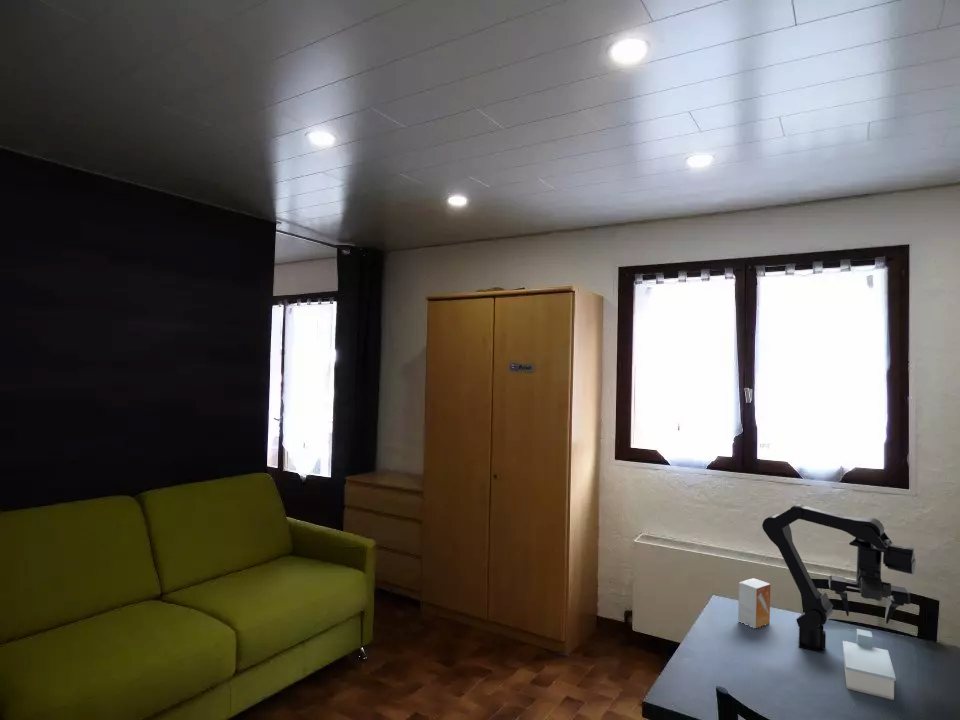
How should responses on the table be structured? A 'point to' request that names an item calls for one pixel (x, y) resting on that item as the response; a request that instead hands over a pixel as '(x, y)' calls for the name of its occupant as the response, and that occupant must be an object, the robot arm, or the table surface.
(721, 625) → the table surface
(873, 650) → the lid
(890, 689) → the tub
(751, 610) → the small box
